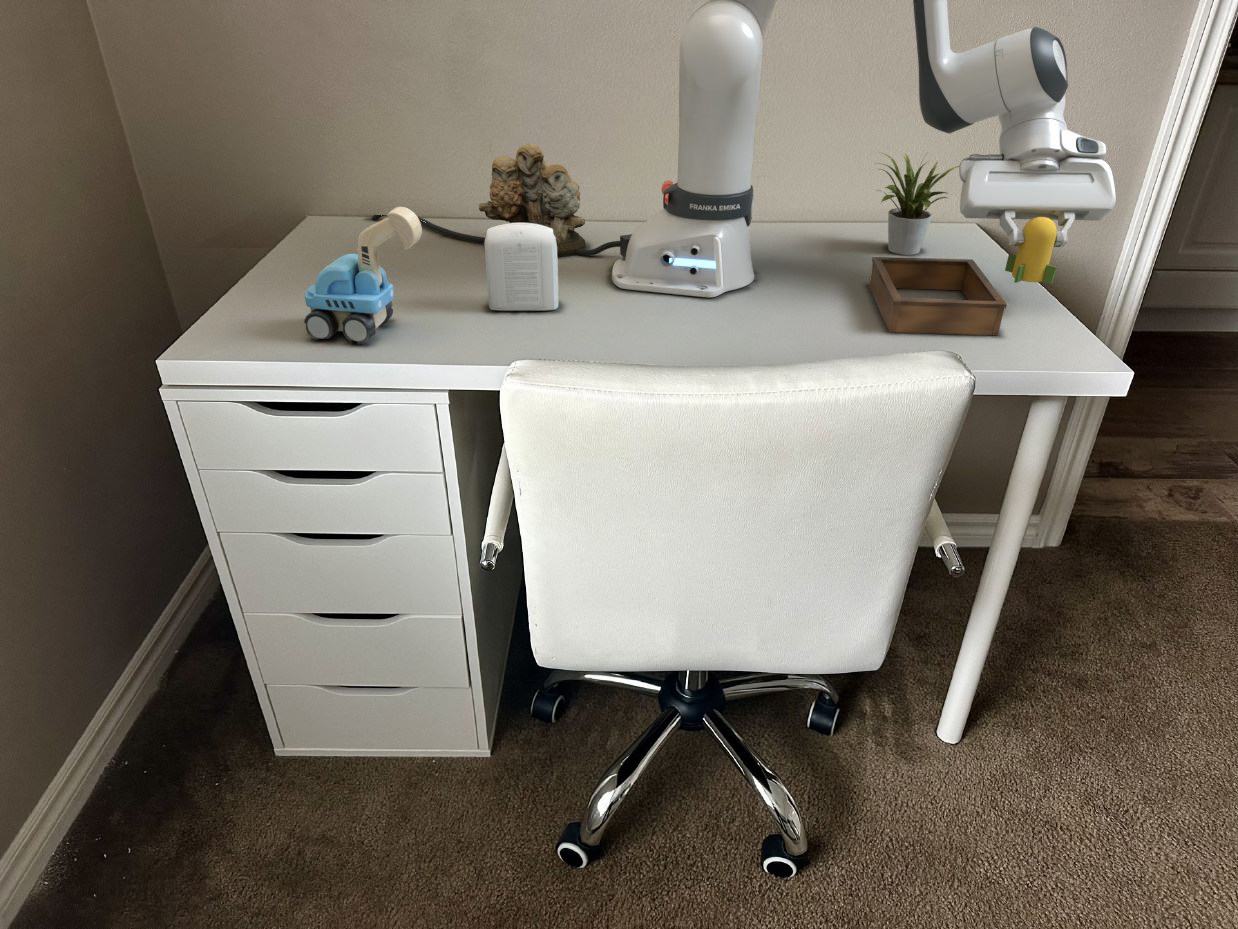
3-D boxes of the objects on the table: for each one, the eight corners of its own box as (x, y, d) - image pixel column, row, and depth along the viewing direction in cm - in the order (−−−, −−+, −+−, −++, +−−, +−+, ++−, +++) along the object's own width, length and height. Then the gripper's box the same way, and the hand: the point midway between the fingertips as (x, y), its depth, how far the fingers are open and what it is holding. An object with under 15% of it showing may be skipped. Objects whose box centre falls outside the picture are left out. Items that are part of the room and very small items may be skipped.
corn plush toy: (1014, 282, 123) (1029, 222, 118) (1004, 270, 127) (1018, 211, 123) (1053, 283, 122) (1069, 223, 118) (1041, 270, 127) (1056, 212, 122)
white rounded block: (559, 301, 130) (556, 218, 124) (559, 312, 127) (555, 227, 120) (490, 302, 130) (483, 219, 123) (487, 313, 126) (480, 228, 120)
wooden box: (888, 332, 120) (893, 301, 118) (867, 285, 136) (872, 256, 133) (999, 336, 119) (1007, 304, 117) (966, 288, 134) (972, 259, 132)
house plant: (837, 247, 151) (850, 149, 142) (882, 230, 159) (897, 136, 150) (909, 268, 142) (928, 165, 133) (954, 249, 150) (975, 150, 141)
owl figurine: (476, 257, 147) (467, 152, 137) (488, 235, 156) (479, 135, 147) (583, 259, 146) (581, 153, 137) (588, 236, 156) (586, 136, 147)
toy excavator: (418, 349, 116) (400, 221, 107) (301, 340, 118) (274, 214, 109) (440, 324, 123) (426, 201, 114) (329, 316, 125) (306, 195, 116)
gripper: (965, 141, 122) (969, 232, 119) (1118, 143, 121) (1125, 235, 118) (952, 166, 128) (954, 253, 125) (1096, 168, 127) (1102, 256, 124)
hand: (1038, 244), depth 122 cm, fingers closed on corn plush toy, 4 cm apart
